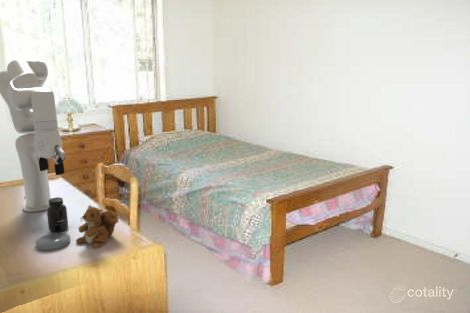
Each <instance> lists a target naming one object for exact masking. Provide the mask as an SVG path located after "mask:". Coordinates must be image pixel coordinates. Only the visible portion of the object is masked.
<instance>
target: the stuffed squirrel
mask: <svg viewBox="0 0 470 313" xmlns="http://www.w3.org/2000/svg"><path fill="white" fill-rule="evenodd" d="M87 207H88V208H87V209H86V211H85V212H84V214H83V215H82V216H81V217H80V219H79V220H81V221H80V223H81V222H83V221H84V222H85V223H83V224H82V225H80V226H79V227H78V232H79V233H83V236H80V237H77V238H76V240H75V242H76V243H77V244H84V243H88V244H90V245H92V246H93V248H94V249H99V248H101V247H102V246H104V245H105V244H106V243H107V241H108V239H109V238H110V237H111V236H112V235H113V233H114V230H115V227H116V225H117V224H118V223H119V217H120V214H118V213H116V212H115V211H113V210H105V211H104V210H103V209H100V208H97V207H95V206H92V205H90V204H89V205H88V206H87Z"/></svg>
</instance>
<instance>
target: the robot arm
mask: <svg viewBox="0 0 470 313" xmlns="http://www.w3.org/2000/svg"><path fill="white" fill-rule="evenodd" d="M48 76H49V71H48V67H47V64H46V63H45V61H44V60H42V59H40V58H30V59H29V58H25V59H24V58H23V59H22V58H20V59H19V58H18V59H14V60H11V61H10V62H9V63H8V64H7V67H6V70H2V71H0V96H1V97H2V99H3V100H4V102H5V103H6V104H7V107H8V111H9V113H10V117H11V119H12V120H11V121H12V124H13V127H14V130H15V131H16V133H18V134H20V136H18V137H17V138H16V139H15V141H14V142H15V143H14V144H15V151H16V152H17V156H18V159H19V163H20V168H21V174H22V181H23V187H24V188H23V189H24V195H25V196H24V197H23V199H24V200H25V203H24V204H23V205H22V209H23V211H24V212H29V213H36V212H43V211H47V208H48V207H49V199H51V190H50V183H49V175H48V170H49V169H50V167H49V162H48V160H51V159H52V160H53V162H54V164H53V165H54V171H55V174H54V175H55V176H60V175H63V174H65V165H64V163H65V159H66V157H65V156H66V151H64V150H63V141H62V137H61V134H60V132H59V125H58V117H57V109H56V98H55V94H54V92H53V90H51V89H50V87H49V88H48V87H43V86H44V84H45V82H46V81H47V79H48Z"/></svg>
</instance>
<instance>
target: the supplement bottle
mask: <svg viewBox="0 0 470 313" xmlns="http://www.w3.org/2000/svg"><path fill="white" fill-rule="evenodd" d="M46 217H47V224H48V231H49V232H50V233H51V234H53V233H65V232H66V231H67V230H68V229H69V221H68V218H69V217H68V211H67V206H66V205H65V204H64V200H63V197H60V196H59V197H52V198H51V199H49V207H48V208H47V210H46Z"/></svg>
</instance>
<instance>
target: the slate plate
mask: <svg viewBox="0 0 470 313" xmlns="http://www.w3.org/2000/svg"><path fill="white" fill-rule="evenodd" d="M70 243H71V236H70V234H69V233H65V232H60V233H49V234H46V235H45V234H44V235H43V236H41V237H39V238H38V239H37V240H35V248H36V249H37V250H39V251H42V252H43V251H44V252H52V251H56V250H58V251H59V250H61V249H62V248H65V247H67V246H69V244H70Z"/></svg>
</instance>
